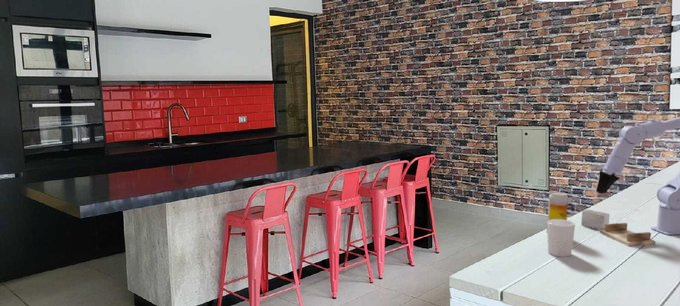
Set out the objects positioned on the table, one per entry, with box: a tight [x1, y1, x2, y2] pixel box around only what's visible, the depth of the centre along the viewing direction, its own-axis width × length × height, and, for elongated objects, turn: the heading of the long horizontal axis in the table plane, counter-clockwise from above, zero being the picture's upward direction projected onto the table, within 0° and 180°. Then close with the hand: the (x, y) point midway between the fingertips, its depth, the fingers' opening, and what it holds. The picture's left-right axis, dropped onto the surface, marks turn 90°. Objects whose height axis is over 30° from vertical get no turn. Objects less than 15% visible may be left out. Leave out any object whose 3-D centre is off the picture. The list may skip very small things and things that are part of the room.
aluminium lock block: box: [580, 209, 610, 230], centre depth 193 cm, size 4×8×6 cm, turn 40°
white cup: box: [547, 219, 576, 258], centre depth 165 cm, size 8×8×10 cm
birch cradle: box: [599, 222, 656, 247], centre depth 180 cm, size 10×14×4 cm
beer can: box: [546, 191, 569, 235], centre depth 182 cm, size 6×6×15 cm
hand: (600, 192), depth 189 cm, fingers open, 7 cm apart
